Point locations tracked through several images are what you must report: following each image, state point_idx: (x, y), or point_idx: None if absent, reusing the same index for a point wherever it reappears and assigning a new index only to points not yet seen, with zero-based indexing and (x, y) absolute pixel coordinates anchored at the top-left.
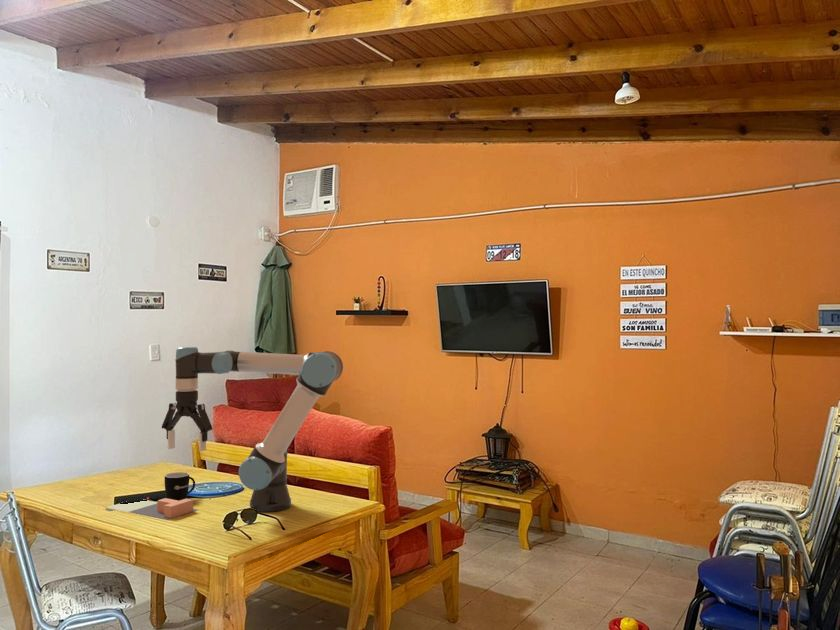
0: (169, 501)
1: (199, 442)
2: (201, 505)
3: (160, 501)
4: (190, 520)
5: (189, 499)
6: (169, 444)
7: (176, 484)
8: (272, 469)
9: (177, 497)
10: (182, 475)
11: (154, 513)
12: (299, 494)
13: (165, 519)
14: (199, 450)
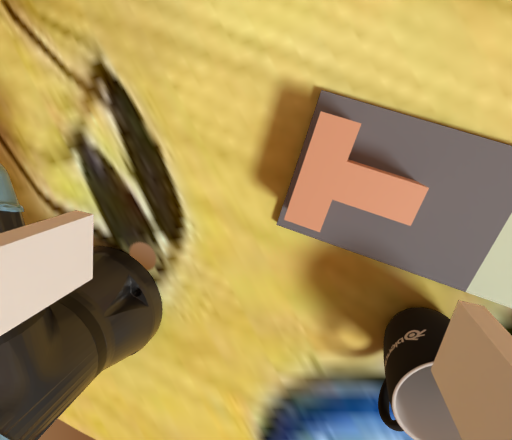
0: (367, 182)
1: (12, 240)
2: (306, 293)
3: (409, 181)
4: (257, 131)
5: (300, 222)
6: (487, 333)
7: (419, 341)
8: None
9: (404, 316)
10: (440, 435)
11: (416, 157)
12: (102, 405)
13: (334, 95)
14: (83, 214)
